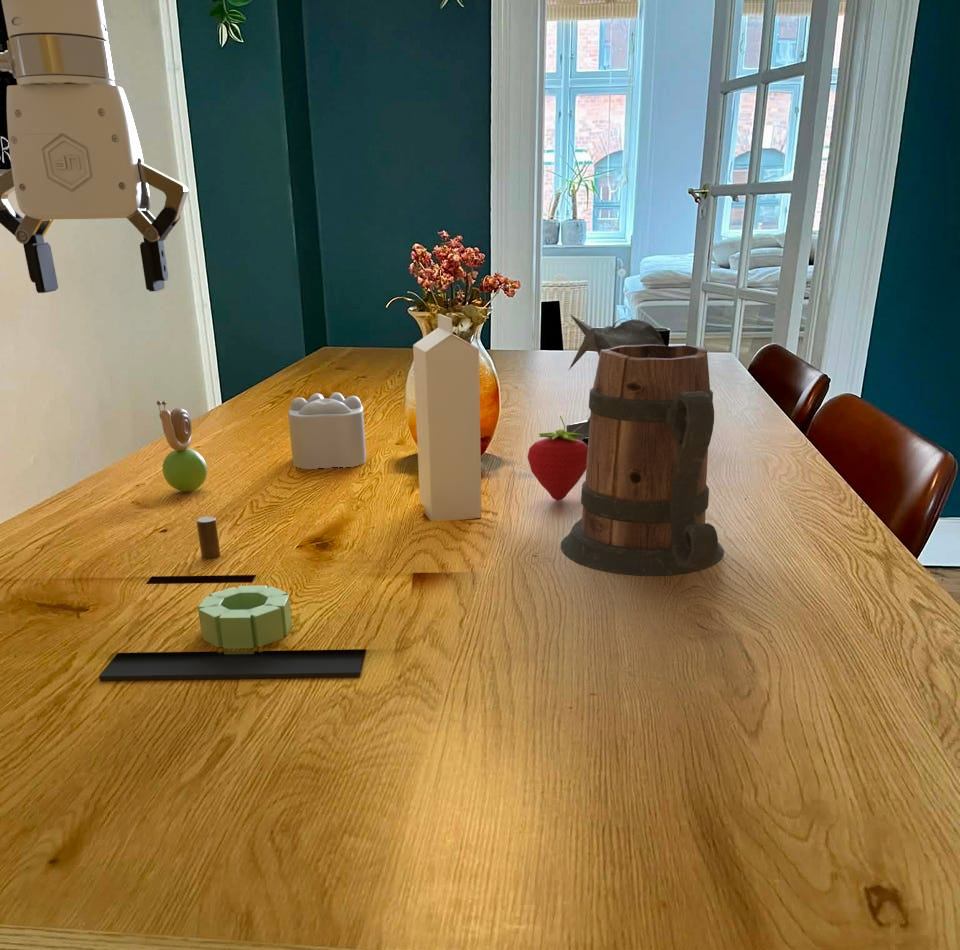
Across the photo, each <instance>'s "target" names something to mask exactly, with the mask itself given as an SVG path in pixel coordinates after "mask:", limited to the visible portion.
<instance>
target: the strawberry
mask: <svg viewBox="0 0 960 950" xmlns="http://www.w3.org/2000/svg"><path fill="white" fill-rule="evenodd" d="M559 418H560V421H561V422H562V425H563V429H562V428H560V429H556V430H555V432H553V431H552V432H542V433H541V432H540V433H538V437H539V438H543V439H539V440H536V441H535V442H534V443H533V444H531V445H530V447H529V449H528V453H527V461H528V464H529V467H530V471H531V473H532V474H533V476H534V477H535V478H536V480H537V481H538V483H539V484H540V485H541V486H542V487H543V489H545V490H546V492H547V493H548V494H549V495H550V497H551V498H552V499H553V500H555V501H562V500H563V499H564V498H566V497H567V495H568V494H569V493H570V491H571V490H572V489H574V487H575V486H576V485H577V483H578V482H579V481H580V479H581V478H582V476H583V475H584V473H586V466H587V453H588V444H586V442H584V441H583V440H582V441H581V440H577V439H574V438H573V437H574V436H583V434H577V433H571V432H570V433H569V432H566V425H565V423H564V420H563V419H562V416H561V415H559Z"/></svg>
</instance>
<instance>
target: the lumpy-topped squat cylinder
mask: <svg viewBox="0 0 960 950" xmlns="http://www.w3.org/2000/svg"><path fill="white" fill-rule="evenodd" d="M287 416H288V417H287V418H288V427H289V438H290V447H291V459H292V465H293V467H294V468H296V467H297V469H300V468H301V469H300V470H319V469H318V468H324V469H333V468H332V467H338V468H337V469H340V468H339V467H343V468H342V469H347V468H346V467H351V468H355V466H356V467H360V466H362V465H364V464H365V463H366V461H367V448H366V433H365V415H364V407H363V405H362V402H361V399H360V398H359V397H358V396H356V395H349V396H348V397H346V398H345V397H344V396H343V395H342V393H340V392H336V391H335V392H332V393H331V394H330V395H329V397H327V398H326V397H324V395H323V394H321V393H318V392H315V393H313V394H312V395H310V396H309V398H308V400H306V399H305V398H303V397H295V398H293V399H292V400H291V402H290V404H289V409H288V412H287ZM359 465H360V466H359Z"/></svg>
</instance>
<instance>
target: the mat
mask: <svg viewBox="0 0 960 950" xmlns="http://www.w3.org/2000/svg"><path fill="white" fill-rule="evenodd" d="M215 651H216V650H215ZM215 651H214V650H211V651H210V650H209V651H151V652H150V651H149V652H148V651H145V652H144V651H143V652H139V651H138V652H117V653H116V654H115V655H114V657H112V658H111V660H110V661H109V663H108V664H107V665H106V667H105V668H104V669H103V670H102V672H101V673H100V674H99V675H98V678H99V682H101V681H103V682H104V681H165V680H166V681H167V680H168V681H169V680H170V681H171V680H172V681H173V680H176V681H177V680H232V679H233V680H238V679H241V680H242V679H243V680H244V679H301V678H302V679H307V678H309V679H311V678H318V679H319V678H360V677H361V674H362V668H363V664H364V661H365V657H366V653H367V649H366V648H357V649H355V648H354V649H351V648H350V649H289V650H287V649H286V650H285V649H284V650H279V649H278V650H262V651H263V652H261V653H259V652H257V651H258V650H254V651H255V653H254V654H224V652H222V653H217V652H215Z"/></svg>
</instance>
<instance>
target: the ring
mask: <svg viewBox="0 0 960 950" xmlns="http://www.w3.org/2000/svg"><path fill="white" fill-rule="evenodd" d="M291 608H292V607H291V600H290V595H289V594H288V592H286V591H284V590H282V589H279V588H277V587H274V586H272V585H271V586H268V585H266V584H265V585H264V584H263V585H261V584H260V585H258V584H257V585H238V586H237V587H235V586H232V587H228V588H225V589H222V590H219V591H214V592H212V593H209V594H208V596H207V595H206V596H204V598H203V599H202V600H201V602H200V604H199V605H198V606H197V611H198V618H199V625H200V632H201V637H202V640H203V641H205V642H206V643H209V644H210V645H212V646H214V647H216V648H217V649H218V648H221V647H222V648H223V649H254V647H255V646H256V647H257V648H260V647H263V646H266V645H269V644H271V643H275V642H277V641H280V640H283V639H284V637H287V636H288V635H289V633H290V631H291V628H292V627H293V618H292V610H291ZM255 651H257V652H259V653H261V652H263V651H264V650H217V651H216V650H215V652H217V653H222V652H224V654H254V653H255Z"/></svg>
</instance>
